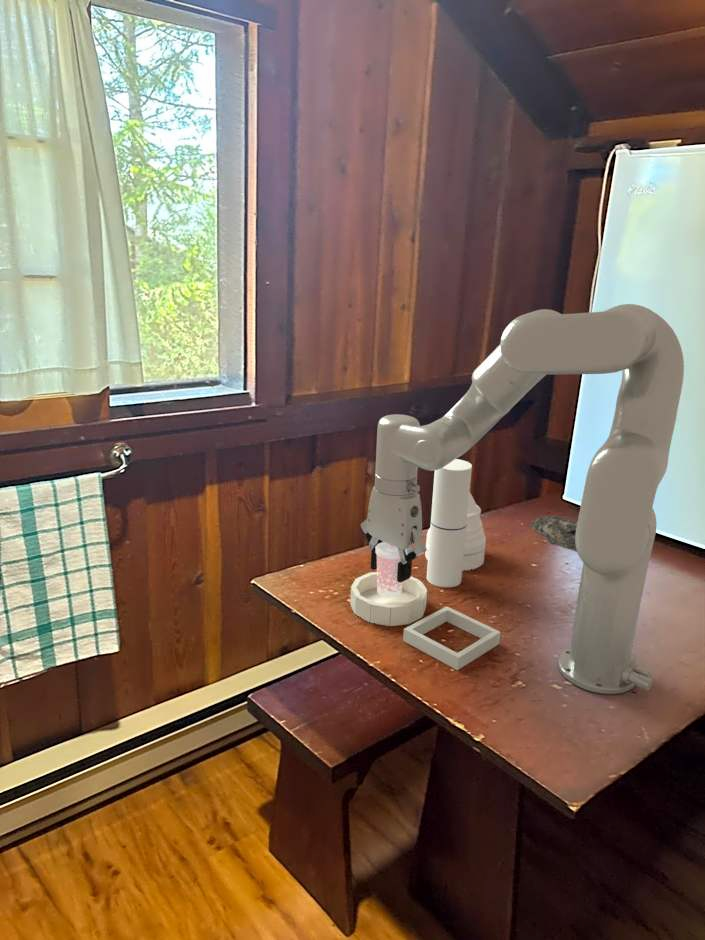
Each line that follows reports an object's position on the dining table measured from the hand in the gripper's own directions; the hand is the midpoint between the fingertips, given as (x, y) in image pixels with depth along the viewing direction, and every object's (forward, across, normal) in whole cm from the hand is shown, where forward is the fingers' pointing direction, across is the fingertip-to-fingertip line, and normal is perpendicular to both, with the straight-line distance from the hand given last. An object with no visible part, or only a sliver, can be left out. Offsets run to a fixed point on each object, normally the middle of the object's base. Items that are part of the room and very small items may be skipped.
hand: (390, 572), depth 141 cm
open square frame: (+7, -16, +1) cm, 17 cm away
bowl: (+7, 0, 0) cm, 7 cm away
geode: (+8, -5, -57) cm, 57 cm away
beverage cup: (+4, 0, 0) cm, 4 cm away
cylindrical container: (+7, 0, -17) cm, 19 cm away
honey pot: (+7, +5, -27) cm, 28 cm away
